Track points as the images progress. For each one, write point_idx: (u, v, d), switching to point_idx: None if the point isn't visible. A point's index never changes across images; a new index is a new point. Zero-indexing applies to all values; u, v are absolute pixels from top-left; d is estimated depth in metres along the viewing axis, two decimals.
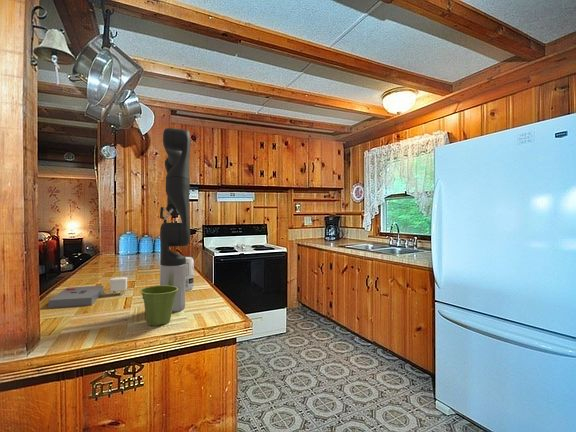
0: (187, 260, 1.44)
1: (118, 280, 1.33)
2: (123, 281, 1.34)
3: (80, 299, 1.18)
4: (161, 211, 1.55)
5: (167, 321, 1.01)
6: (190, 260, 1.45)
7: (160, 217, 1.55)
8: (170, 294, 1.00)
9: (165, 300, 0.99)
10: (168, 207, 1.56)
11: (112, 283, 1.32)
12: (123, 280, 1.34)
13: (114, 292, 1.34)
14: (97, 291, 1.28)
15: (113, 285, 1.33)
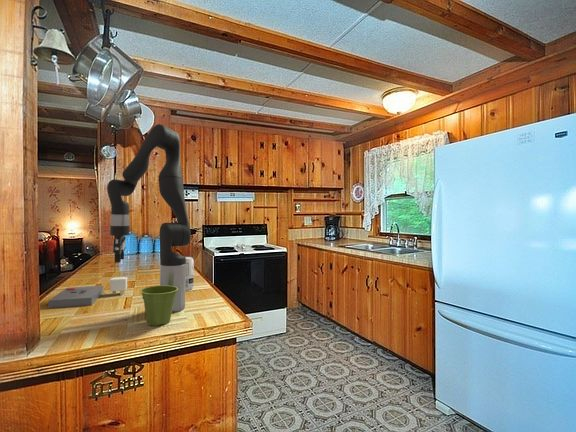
0: (187, 260, 1.44)
1: (118, 280, 1.33)
2: (123, 281, 1.34)
3: (80, 299, 1.18)
4: (120, 244, 1.30)
5: (167, 321, 1.01)
6: (190, 260, 1.45)
7: (119, 251, 1.29)
8: (170, 294, 1.00)
9: (165, 300, 0.99)
10: (121, 238, 1.33)
11: (112, 283, 1.32)
12: (123, 280, 1.34)
13: (114, 292, 1.34)
14: (97, 291, 1.28)
15: (113, 285, 1.33)
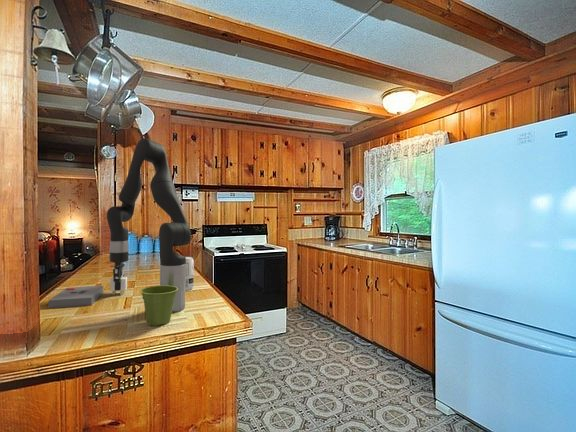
0: (187, 260, 1.44)
1: None
2: (123, 281, 1.34)
3: (80, 299, 1.18)
4: (119, 273, 1.30)
5: (167, 321, 1.01)
6: (190, 260, 1.45)
7: (120, 280, 1.31)
8: (170, 294, 1.00)
9: (165, 300, 0.99)
10: (120, 265, 1.32)
11: (112, 283, 1.32)
12: (123, 280, 1.34)
13: (114, 292, 1.34)
14: (97, 291, 1.28)
15: (113, 285, 1.33)
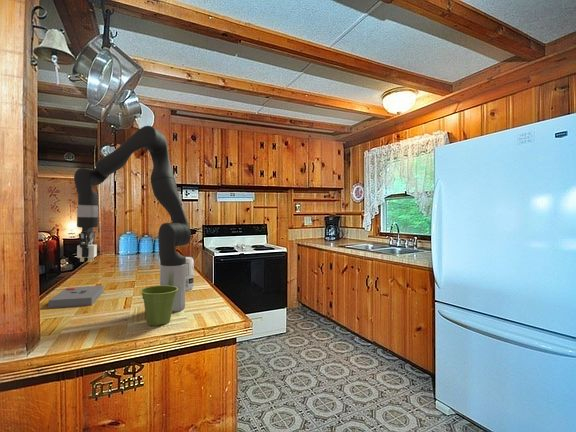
0: (187, 260, 1.44)
1: None
2: (91, 248, 1.27)
3: (80, 299, 1.18)
4: (86, 239, 1.23)
5: (167, 321, 1.01)
6: (190, 260, 1.45)
7: (86, 246, 1.24)
8: (170, 294, 1.00)
9: (165, 300, 0.99)
10: (88, 230, 1.25)
11: (79, 249, 1.25)
12: (91, 247, 1.27)
13: (82, 259, 1.27)
14: (97, 291, 1.28)
15: (80, 251, 1.25)
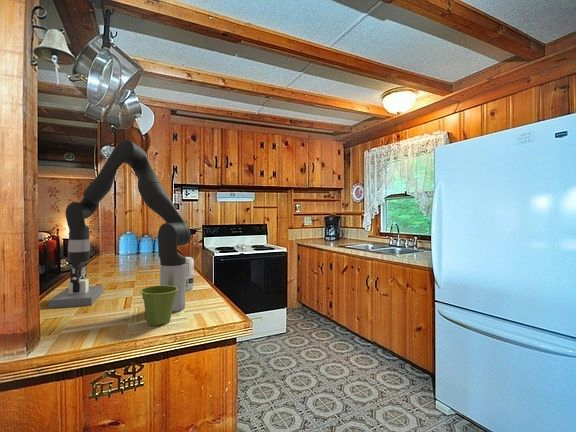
0: (187, 260, 1.44)
1: None
2: (83, 283, 1.24)
3: (80, 299, 1.18)
4: (77, 274, 1.21)
5: (167, 321, 1.01)
6: (190, 260, 1.45)
7: (77, 281, 1.21)
8: (170, 294, 1.00)
9: (165, 300, 0.99)
10: (79, 265, 1.23)
11: (70, 285, 1.23)
12: (83, 282, 1.24)
13: None
14: (97, 291, 1.28)
15: (72, 288, 1.23)
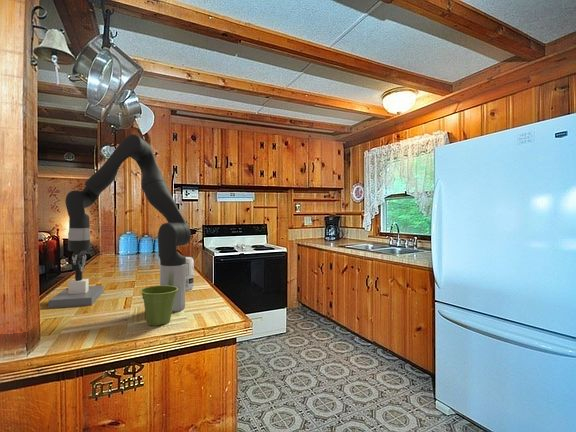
0: (187, 260, 1.44)
1: (77, 282, 1.24)
2: (83, 283, 1.24)
3: (80, 299, 1.18)
4: (79, 264, 1.22)
5: (167, 321, 1.01)
6: (190, 260, 1.45)
7: (80, 269, 1.23)
8: (170, 294, 1.00)
9: (165, 300, 0.99)
10: (79, 254, 1.23)
11: (70, 285, 1.23)
12: (83, 282, 1.24)
13: None
14: (97, 291, 1.28)
15: (72, 288, 1.23)
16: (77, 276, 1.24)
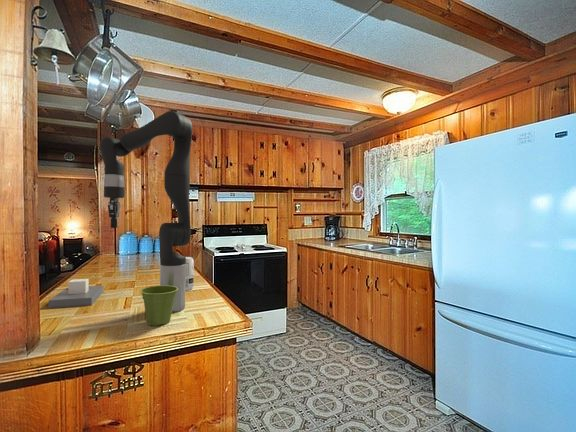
0: (187, 260, 1.44)
1: (77, 282, 1.24)
2: (83, 283, 1.24)
3: (80, 299, 1.18)
4: (115, 210, 1.22)
5: (167, 321, 1.01)
6: (190, 260, 1.45)
7: (116, 216, 1.23)
8: (170, 294, 1.00)
9: (165, 300, 0.99)
10: (115, 200, 1.23)
11: (70, 285, 1.23)
12: (83, 282, 1.24)
13: None
14: (97, 291, 1.28)
15: (72, 288, 1.23)
16: (113, 223, 1.24)
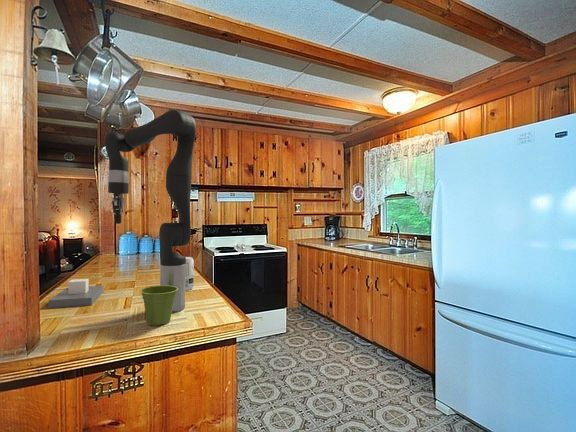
0: (187, 260, 1.44)
1: (77, 282, 1.24)
2: (83, 283, 1.24)
3: (80, 299, 1.18)
4: (119, 205, 1.22)
5: (167, 321, 1.01)
6: (190, 260, 1.45)
7: (120, 211, 1.24)
8: (170, 294, 1.00)
9: (165, 300, 0.99)
10: (119, 196, 1.23)
11: (70, 285, 1.23)
12: (83, 282, 1.24)
13: None
14: (97, 291, 1.28)
15: (72, 288, 1.23)
16: (117, 219, 1.25)
